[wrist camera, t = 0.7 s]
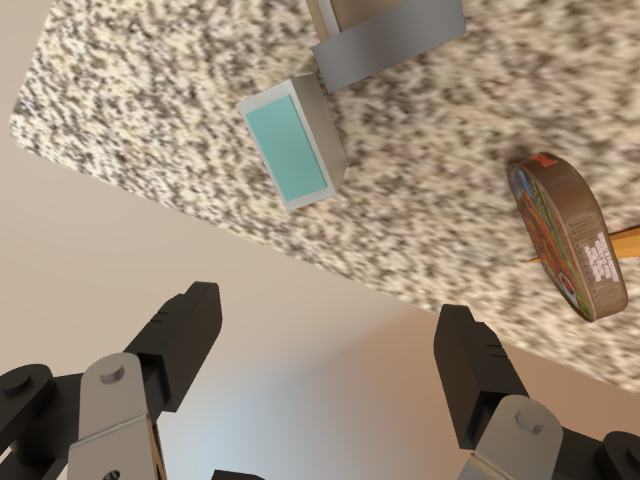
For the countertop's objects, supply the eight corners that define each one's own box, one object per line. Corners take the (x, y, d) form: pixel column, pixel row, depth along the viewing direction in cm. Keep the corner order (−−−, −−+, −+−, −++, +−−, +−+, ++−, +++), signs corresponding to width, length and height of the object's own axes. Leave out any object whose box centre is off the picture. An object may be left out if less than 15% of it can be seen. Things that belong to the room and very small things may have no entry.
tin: (497, 155, 29) (535, 184, 21) (536, 136, 28) (591, 161, 20) (549, 285, 34) (596, 346, 26) (585, 274, 32) (644, 334, 25)
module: (315, 73, 28) (288, 78, 20) (348, 160, 31) (336, 196, 23) (274, 92, 29) (234, 104, 21) (309, 174, 33) (286, 212, 24)
